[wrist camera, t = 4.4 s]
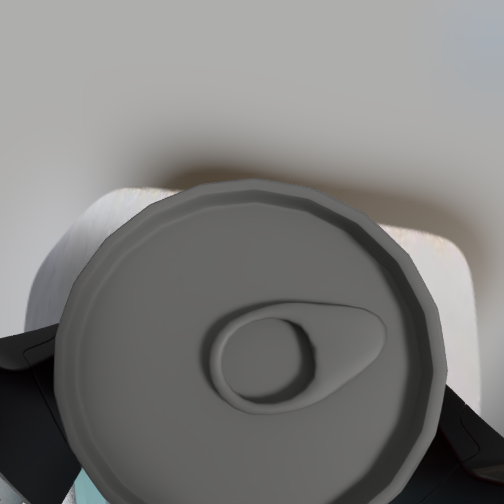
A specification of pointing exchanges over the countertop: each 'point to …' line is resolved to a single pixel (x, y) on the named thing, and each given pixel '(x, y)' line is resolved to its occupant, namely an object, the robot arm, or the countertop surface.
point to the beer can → (250, 353)
